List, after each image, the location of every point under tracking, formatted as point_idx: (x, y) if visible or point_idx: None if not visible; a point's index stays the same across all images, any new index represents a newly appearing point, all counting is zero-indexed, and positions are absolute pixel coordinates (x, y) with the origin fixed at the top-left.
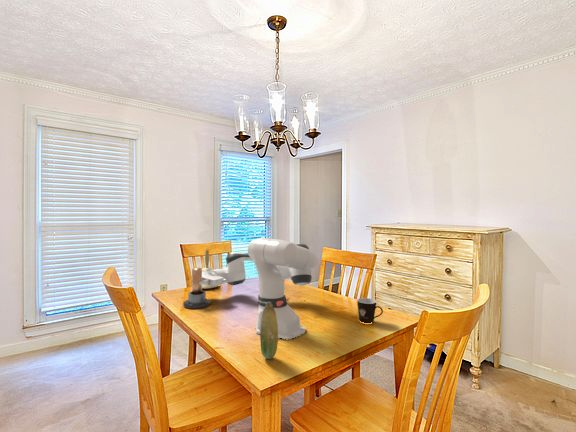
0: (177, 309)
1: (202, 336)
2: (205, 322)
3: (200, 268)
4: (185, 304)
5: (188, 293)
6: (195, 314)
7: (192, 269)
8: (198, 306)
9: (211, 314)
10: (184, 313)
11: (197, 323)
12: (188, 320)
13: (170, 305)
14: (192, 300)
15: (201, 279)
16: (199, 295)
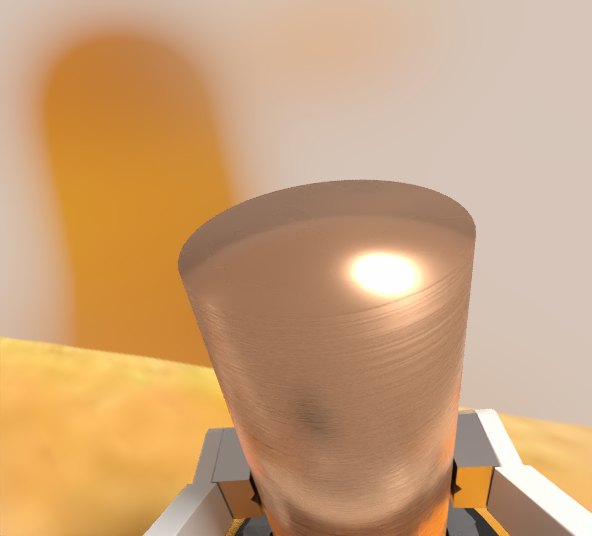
0: None
1: (8, 338)
2: (47, 412)
3: (259, 280)
4: None
5: None
6: (179, 445)
7: (342, 184)
8: (241, 529)
9: (57, 525)
10: None
11: (87, 382)
12: (157, 373)
13: (511, 427)
14: None
15: (256, 486)
16: (252, 523)
